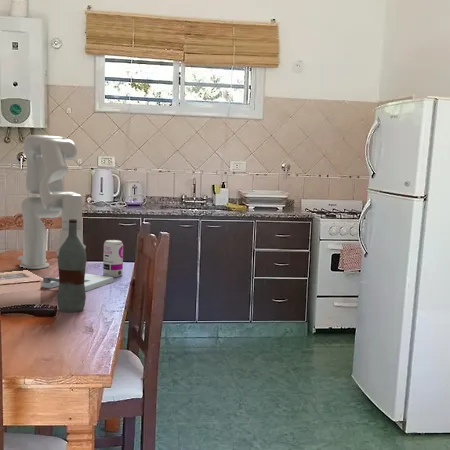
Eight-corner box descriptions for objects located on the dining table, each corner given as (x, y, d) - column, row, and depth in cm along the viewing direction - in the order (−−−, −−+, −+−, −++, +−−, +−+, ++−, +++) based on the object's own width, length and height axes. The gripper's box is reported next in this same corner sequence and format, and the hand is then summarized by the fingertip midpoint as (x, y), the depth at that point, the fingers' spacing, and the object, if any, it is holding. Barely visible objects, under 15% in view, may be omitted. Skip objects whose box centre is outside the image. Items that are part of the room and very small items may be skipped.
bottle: (70, 314, 179) (72, 222, 176) (50, 309, 184) (52, 219, 180) (91, 308, 187) (93, 220, 184) (72, 303, 192) (73, 217, 188)
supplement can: (124, 274, 244) (125, 240, 243) (119, 277, 236) (120, 243, 234) (106, 272, 245) (107, 239, 243) (100, 276, 237) (101, 241, 235)
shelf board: (41, 287, 213) (41, 277, 213) (76, 276, 234) (76, 267, 234) (80, 293, 207) (81, 282, 207) (113, 281, 228) (113, 272, 228)
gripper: (77, 223, 223) (76, 265, 225) (49, 227, 207) (48, 272, 209) (93, 224, 220) (92, 267, 222) (66, 228, 204) (65, 274, 206)
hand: (71, 269), depth 215 cm, fingers open, 9 cm apart
